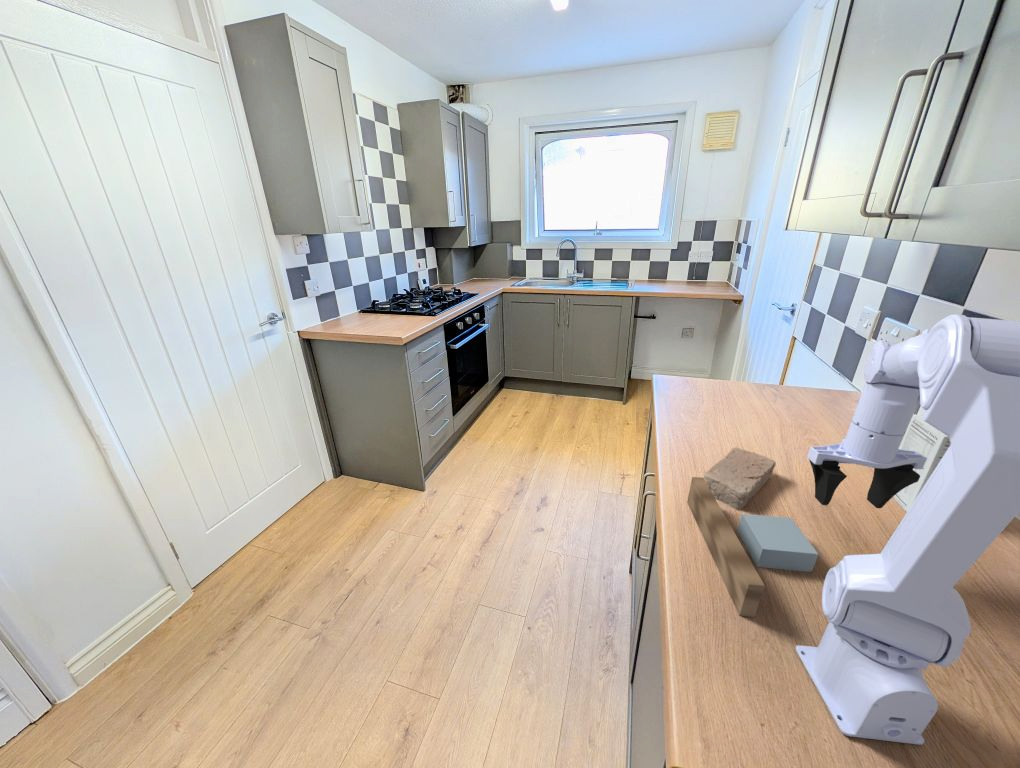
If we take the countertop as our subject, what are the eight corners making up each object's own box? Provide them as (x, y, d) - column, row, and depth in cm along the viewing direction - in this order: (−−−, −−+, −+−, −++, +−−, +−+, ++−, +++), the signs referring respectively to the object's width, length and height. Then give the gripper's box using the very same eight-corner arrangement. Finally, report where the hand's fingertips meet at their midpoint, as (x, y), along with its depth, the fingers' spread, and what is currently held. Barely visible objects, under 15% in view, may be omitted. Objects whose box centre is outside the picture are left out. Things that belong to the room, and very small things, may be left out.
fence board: (754, 616, 54) (764, 585, 52) (739, 615, 55) (748, 584, 52) (697, 502, 76) (703, 477, 74) (687, 502, 77) (692, 477, 74)
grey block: (811, 573, 61) (818, 554, 60) (756, 567, 62) (762, 548, 61) (785, 535, 69) (791, 517, 67) (736, 531, 70) (741, 513, 68)
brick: (740, 513, 74) (746, 493, 72) (697, 491, 80) (701, 472, 78) (771, 478, 84) (777, 460, 82) (731, 462, 90) (735, 444, 88)
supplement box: (971, 525, 70) (1017, 445, 63) (907, 515, 72) (945, 437, 66) (935, 492, 78) (973, 418, 72) (879, 484, 81) (911, 412, 74)
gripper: (910, 414, 58) (878, 488, 63) (806, 411, 60) (783, 484, 65) (954, 439, 52) (915, 519, 57) (837, 434, 53) (809, 513, 58)
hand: (847, 502), depth 61 cm, fingers open, 7 cm apart
